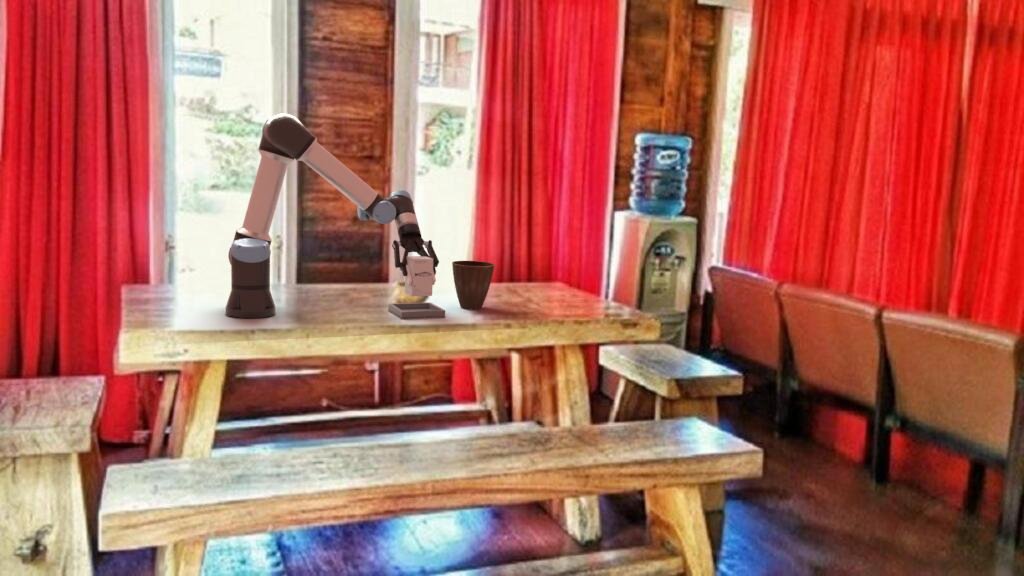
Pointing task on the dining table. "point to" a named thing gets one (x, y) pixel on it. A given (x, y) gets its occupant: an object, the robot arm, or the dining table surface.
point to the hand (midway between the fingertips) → (422, 282)
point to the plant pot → (472, 282)
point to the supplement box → (420, 276)
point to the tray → (416, 310)
